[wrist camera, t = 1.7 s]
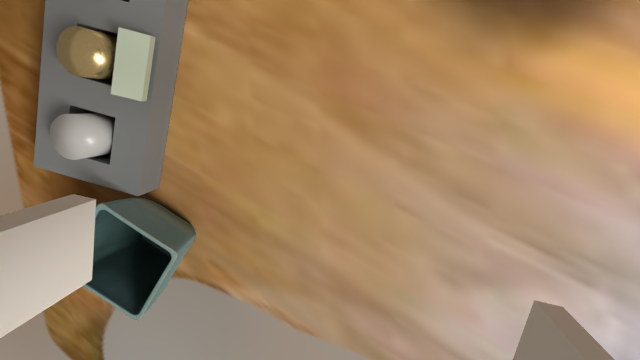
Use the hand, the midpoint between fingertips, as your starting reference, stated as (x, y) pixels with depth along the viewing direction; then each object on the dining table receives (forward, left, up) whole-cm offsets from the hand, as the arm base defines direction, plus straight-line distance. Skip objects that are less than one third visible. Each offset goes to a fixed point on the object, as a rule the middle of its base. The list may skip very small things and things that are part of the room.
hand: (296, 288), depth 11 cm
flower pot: (+14, -18, -29) cm, 36 cm away
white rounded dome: (+4, -26, -27) cm, 37 cm away
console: (-4, -26, -28) cm, 39 cm away
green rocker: (-4, -22, -24) cm, 33 cm away
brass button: (-4, -26, -27) cm, 37 cm away
